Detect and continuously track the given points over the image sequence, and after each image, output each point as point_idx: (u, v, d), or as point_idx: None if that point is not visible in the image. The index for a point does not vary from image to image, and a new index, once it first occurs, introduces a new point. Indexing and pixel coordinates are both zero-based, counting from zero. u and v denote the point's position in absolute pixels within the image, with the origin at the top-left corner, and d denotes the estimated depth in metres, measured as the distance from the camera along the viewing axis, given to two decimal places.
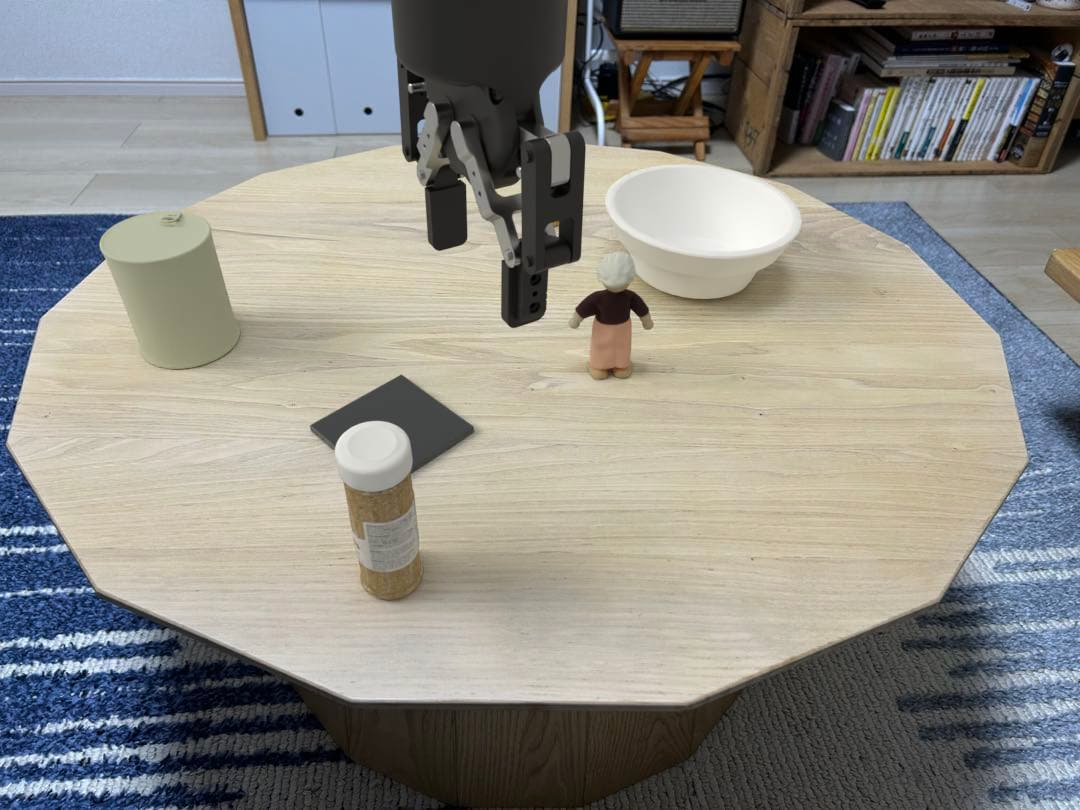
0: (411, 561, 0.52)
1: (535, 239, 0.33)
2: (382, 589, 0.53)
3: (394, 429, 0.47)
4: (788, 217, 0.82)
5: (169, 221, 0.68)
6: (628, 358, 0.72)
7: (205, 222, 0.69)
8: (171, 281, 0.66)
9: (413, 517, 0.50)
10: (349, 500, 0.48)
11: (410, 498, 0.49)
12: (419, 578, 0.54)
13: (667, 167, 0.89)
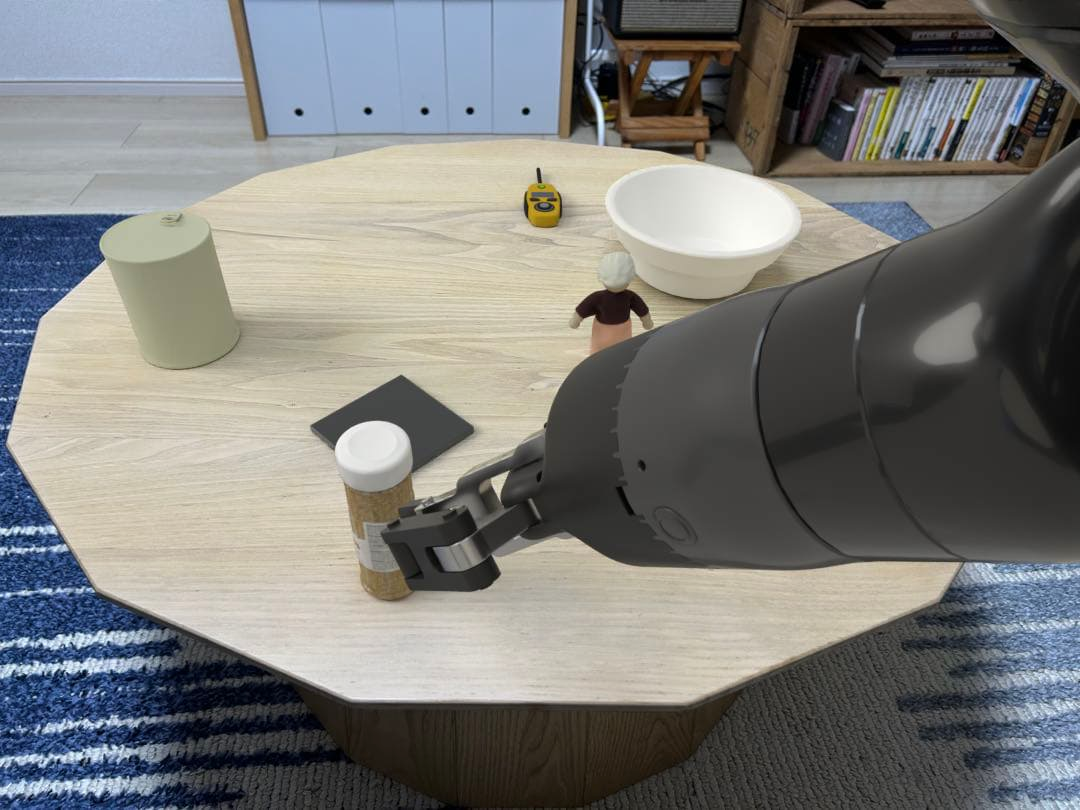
0: None
1: (394, 531, 0.27)
2: (382, 589, 0.53)
3: (395, 429, 0.47)
4: (788, 217, 0.82)
5: (169, 221, 0.68)
6: None
7: (205, 222, 0.69)
8: (171, 281, 0.66)
9: None
10: (349, 500, 0.48)
11: (410, 498, 0.49)
12: None
13: (667, 167, 0.89)
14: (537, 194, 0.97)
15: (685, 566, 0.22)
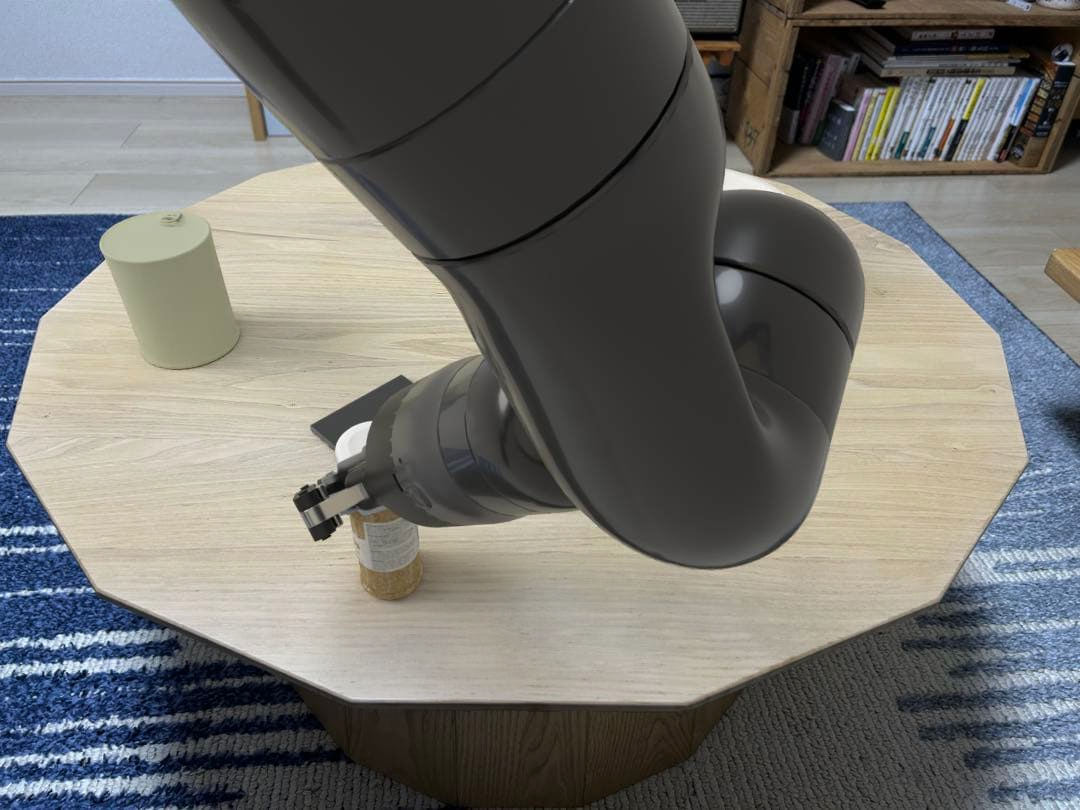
0: (411, 561, 0.52)
1: None
2: (382, 589, 0.53)
3: None
4: None
5: (169, 221, 0.68)
6: None
7: (205, 222, 0.69)
8: (171, 281, 0.66)
9: None
10: None
11: None
12: (419, 578, 0.54)
13: None
14: None
15: (444, 524, 0.36)
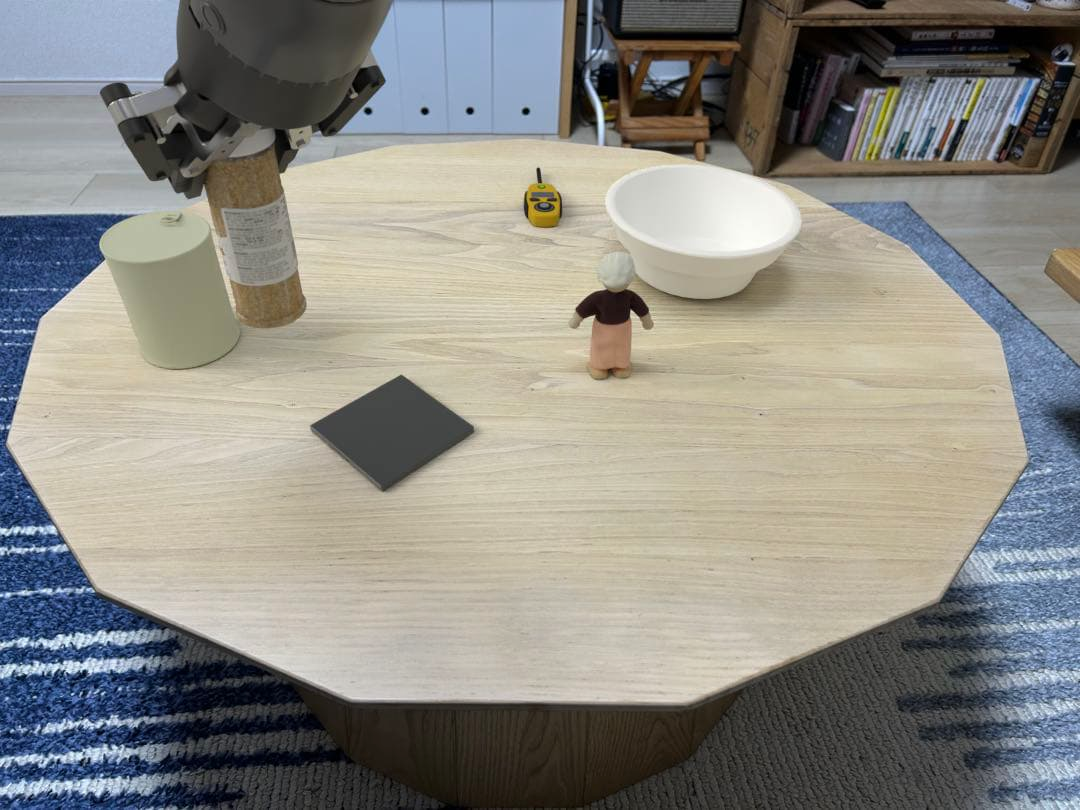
0: (285, 278, 0.47)
1: None
2: (255, 313, 0.48)
3: None
4: (788, 217, 0.82)
5: (169, 221, 0.68)
6: (628, 358, 0.72)
7: (205, 222, 0.69)
8: (171, 281, 0.66)
9: (282, 216, 0.45)
10: None
11: (276, 187, 0.44)
12: (300, 310, 0.50)
13: (667, 167, 0.89)
14: (537, 194, 0.97)
15: (256, 86, 0.31)
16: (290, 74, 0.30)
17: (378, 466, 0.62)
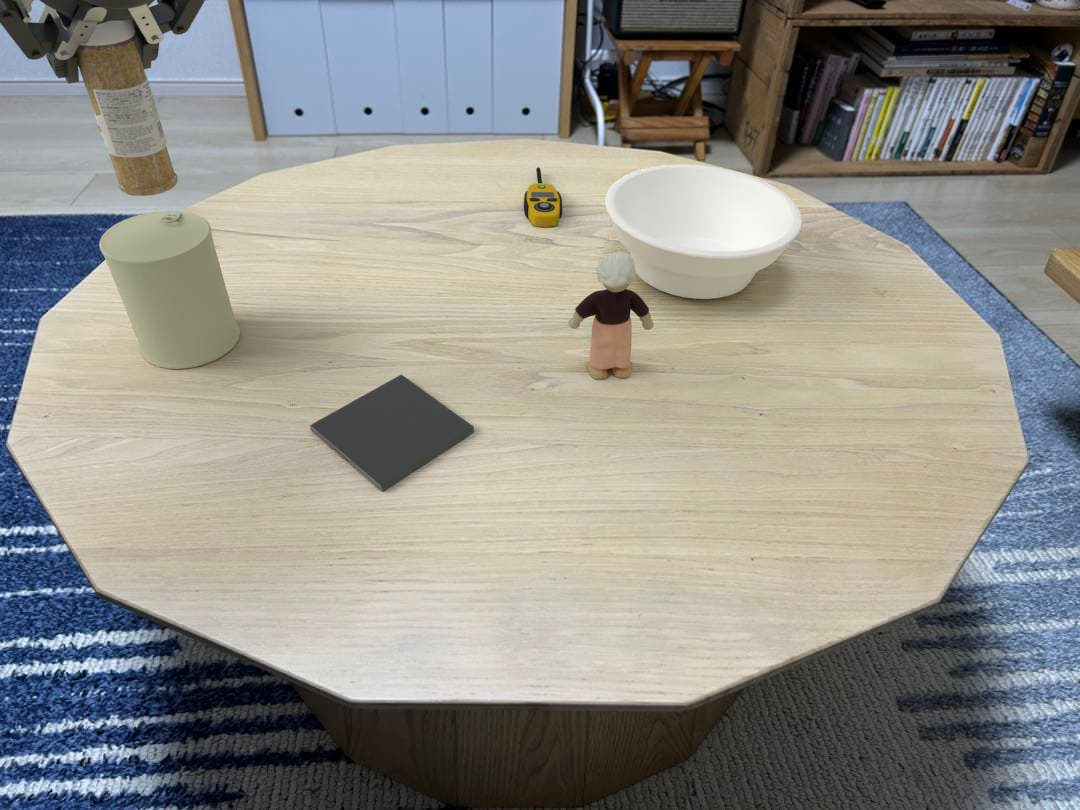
0: (153, 153, 0.60)
1: None
2: (131, 182, 0.60)
3: None
4: (788, 217, 0.82)
5: (169, 221, 0.68)
6: (628, 358, 0.72)
7: (205, 222, 0.69)
8: (171, 281, 0.66)
9: (146, 100, 0.58)
10: (79, 67, 0.55)
11: (137, 74, 0.56)
12: (170, 182, 0.62)
13: (667, 167, 0.89)
14: (537, 194, 0.97)
15: None
16: None
17: (378, 466, 0.62)
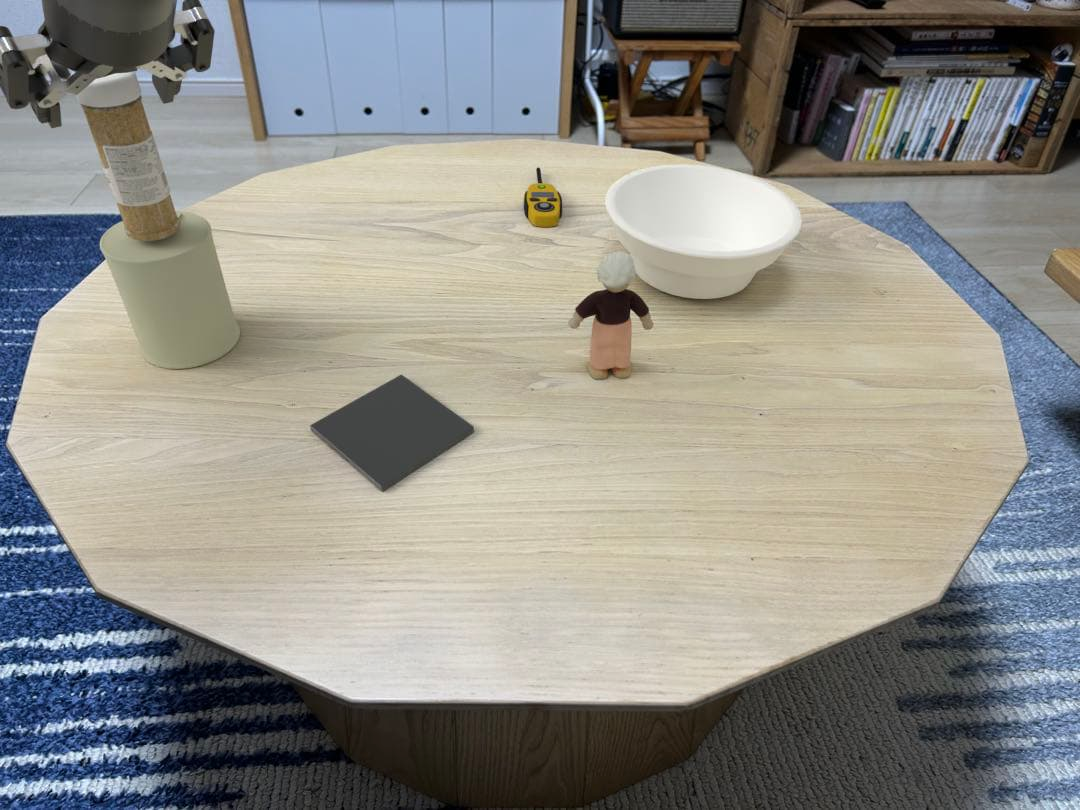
0: (157, 201, 0.64)
1: None
2: (137, 228, 0.65)
3: None
4: (788, 217, 0.82)
5: None
6: (628, 358, 0.72)
7: (205, 222, 0.69)
8: (171, 281, 0.66)
9: (151, 153, 0.62)
10: (89, 126, 0.59)
11: (143, 131, 0.61)
12: (173, 227, 0.66)
13: (667, 167, 0.89)
14: (537, 194, 0.97)
15: (91, 34, 0.47)
16: (110, 26, 0.46)
17: (378, 466, 0.62)
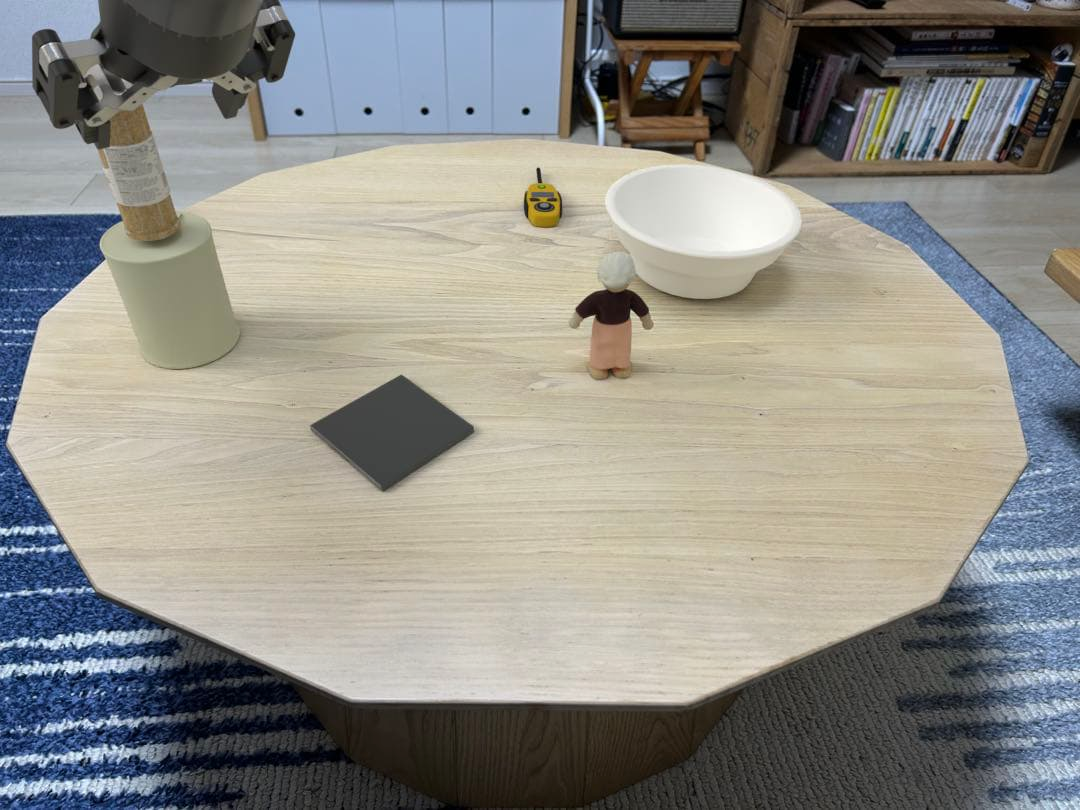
0: (157, 201, 0.64)
1: (32, 74, 0.42)
2: (137, 228, 0.65)
3: None
4: (788, 217, 0.82)
5: None
6: (628, 358, 0.72)
7: (205, 222, 0.69)
8: (171, 282, 0.66)
9: (151, 153, 0.62)
10: None
11: (143, 131, 0.61)
12: (173, 227, 0.66)
13: (667, 167, 0.89)
14: (537, 194, 0.97)
15: (161, 39, 0.38)
16: (187, 29, 0.37)
17: (378, 466, 0.62)
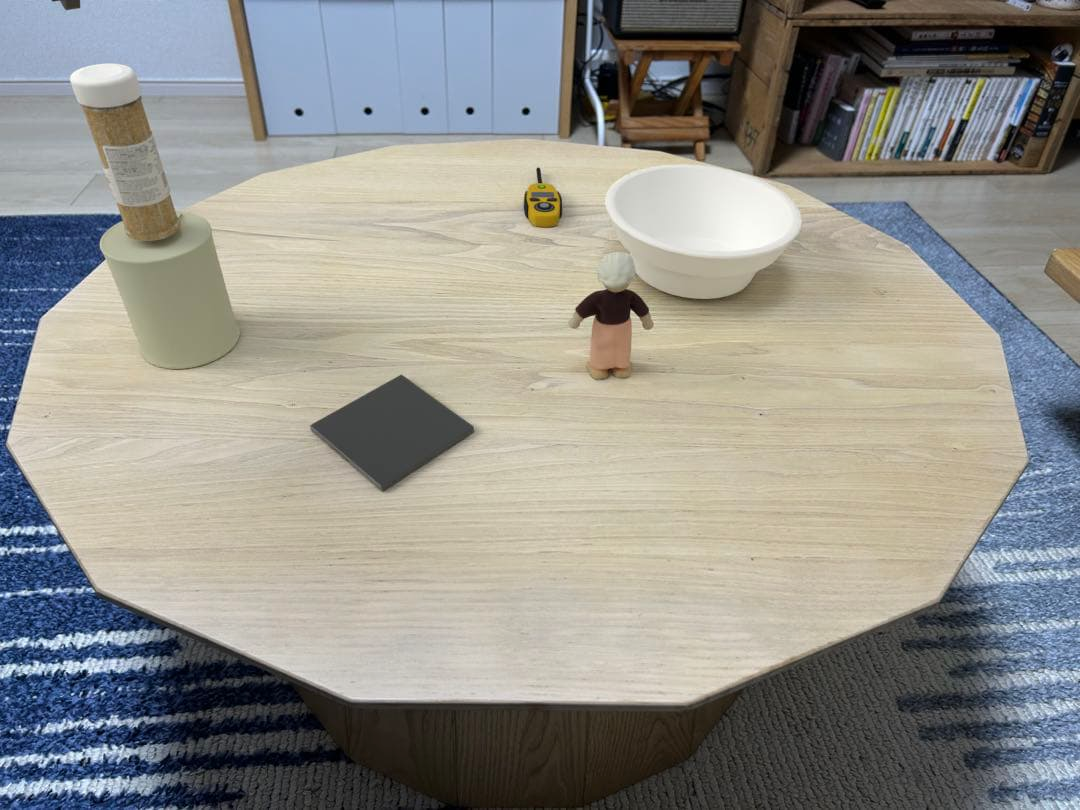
0: (157, 201, 0.64)
1: None
2: (137, 228, 0.65)
3: (124, 66, 0.59)
4: (788, 217, 0.82)
5: None
6: (628, 358, 0.72)
7: (205, 222, 0.69)
8: (171, 281, 0.66)
9: (151, 154, 0.62)
10: (89, 126, 0.59)
11: (143, 131, 0.61)
12: (173, 228, 0.66)
13: (667, 167, 0.89)
14: (537, 194, 0.97)
15: None
16: None
17: (378, 466, 0.62)
